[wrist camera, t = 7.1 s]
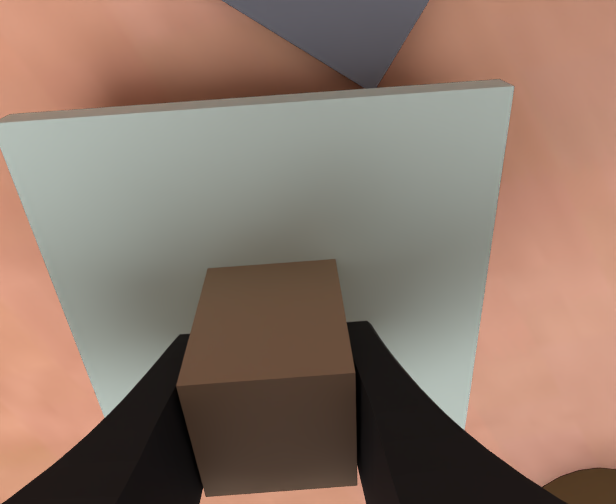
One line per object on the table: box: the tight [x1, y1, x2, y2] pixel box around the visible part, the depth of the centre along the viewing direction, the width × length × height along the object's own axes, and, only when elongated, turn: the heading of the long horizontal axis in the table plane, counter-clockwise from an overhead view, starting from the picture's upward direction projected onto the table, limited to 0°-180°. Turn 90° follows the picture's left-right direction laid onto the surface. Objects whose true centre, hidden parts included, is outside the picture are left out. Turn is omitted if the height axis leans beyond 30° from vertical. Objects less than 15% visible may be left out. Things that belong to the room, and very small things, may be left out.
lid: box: [0, 79, 514, 497], centre depth 12 cm, size 11×11×5 cm
